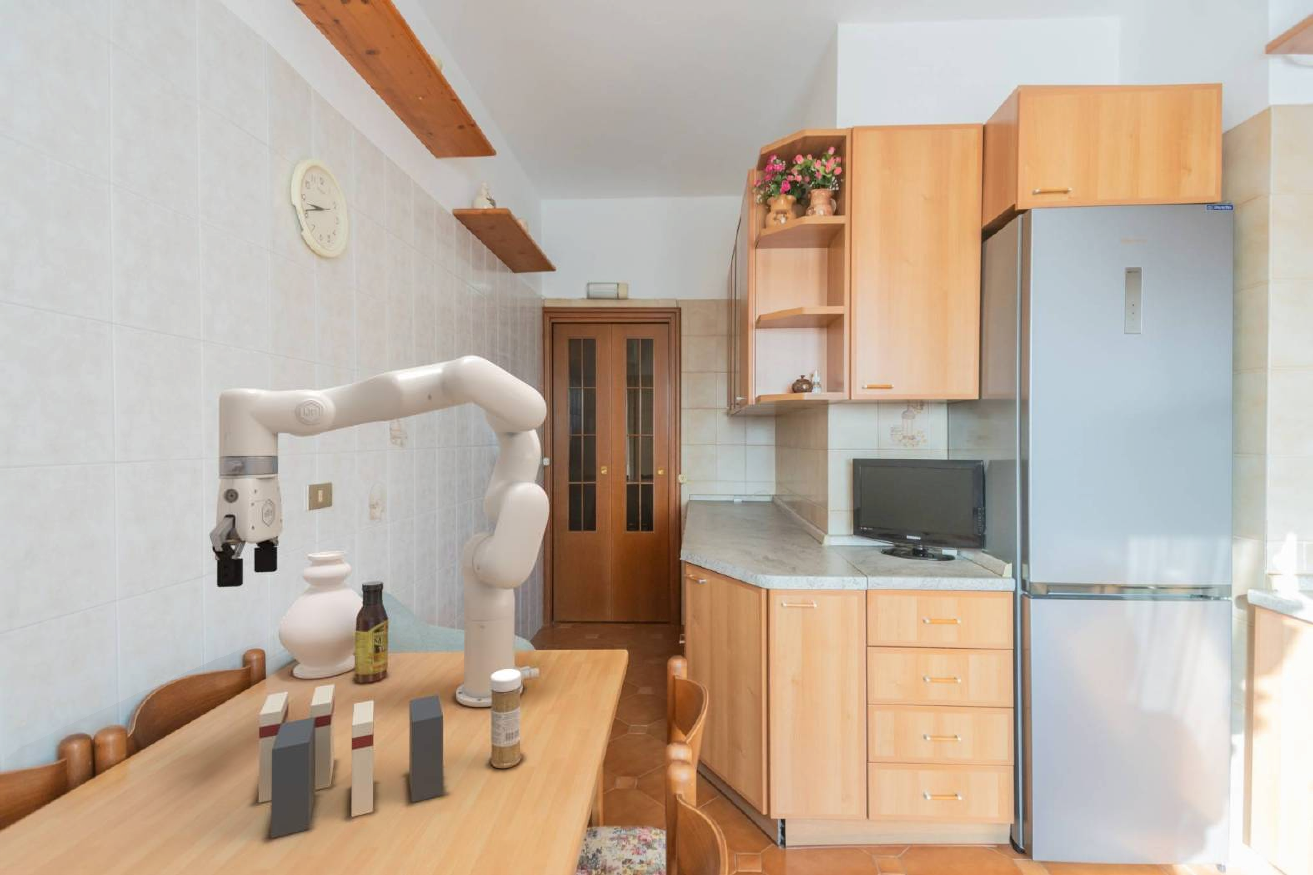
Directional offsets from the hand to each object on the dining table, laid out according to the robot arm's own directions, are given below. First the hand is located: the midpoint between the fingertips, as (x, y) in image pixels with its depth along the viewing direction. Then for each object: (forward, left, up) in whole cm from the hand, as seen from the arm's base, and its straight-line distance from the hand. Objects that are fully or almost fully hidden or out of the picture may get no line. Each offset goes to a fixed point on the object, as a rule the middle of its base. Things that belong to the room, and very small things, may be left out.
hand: (248, 578), depth 88 cm
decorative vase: (-8, -38, -28) cm, 48 cm away
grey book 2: (-24, +19, -28) cm, 42 cm away
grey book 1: (-8, +19, -28) cm, 35 cm away
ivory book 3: (-16, +19, -28) cm, 38 cm away
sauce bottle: (-17, -27, -28) cm, 43 cm away
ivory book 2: (-11, +10, -28) cm, 32 cm away
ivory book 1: (-5, +10, -28) cm, 30 cm away
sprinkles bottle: (-36, +18, -28) cm, 49 cm away
